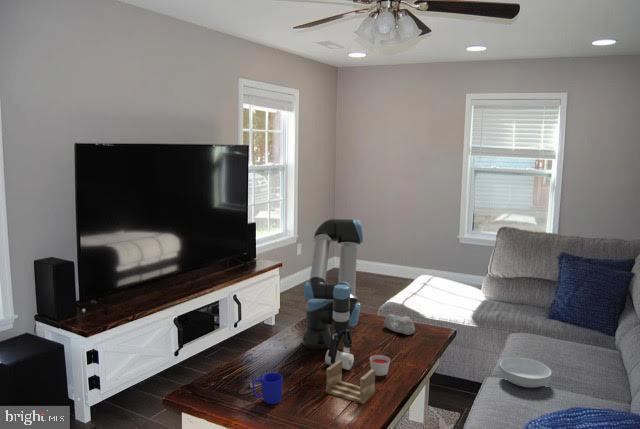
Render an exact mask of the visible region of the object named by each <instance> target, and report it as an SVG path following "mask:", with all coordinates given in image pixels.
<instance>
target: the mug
mask: <svg viewBox="0 0 640 429" xmlns="http://www.w3.org/2000/svg"><path fill="white" fill-rule="evenodd" d="M283 380H284V378H283V375H282V374H281V373H278V372H268V373H265V374H263V375H262V376H261V378H253V379H251V385H252V393H253V395H254V397H255V398H257V399H261V398H263V401H264V403H266V404H268V405H275V404H279V403H280V401H281V400H282V391H283ZM255 382H260V384H261V391H262V392H261V393H262V394H261V395H258V394H257V393H256V390H255Z"/></svg>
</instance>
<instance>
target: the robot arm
mask: <svg viewBox="0 0 640 429" xmlns="http://www.w3.org/2000/svg"><path fill="white" fill-rule="evenodd" d="M333 242H337V246H338V247H339V248H340V250H339V266H338V268H339V269H338V283H332V282H331V283H330V282H329V283H328V282H326V281H327V271H328V264H329V254H330V247H331V245H332V244H333ZM313 243H314V247H313V248H314V249H313V255H312V263H311V268H310V270H311V271H310V276H309V281H306V282H304V285H303V296H304V298H306V299H308V301H307V302H306V309H305V311H306V313H305V314H306V315H305V316H306V317H305V320H306V321H305V323H306V324H305V331H304V334H303V337H302V346H304V347H305V348H307V349H310V350H311V349H312V350H324V349H328V348H329V349H328V350H329V352H328V356H329V357H331V365H333V364H334V363H336V362H337V357H336V354H337V351H339V348H340V344H341V343H343V345H344V346H343V352H345V353H349V354H350V349H351V348H352V347H353V346H352V345H353V339H352V338H353V337H352V333H351V327H355V326H357V324H358V323H359V322H358V321H359V318H360V317H359V316H360V312H361V302H359V301H358V300H359V299H358V297H357V296H356V280H357V276H356V275H357V262H358V261H357V260H358V258H357V255H358V254H357V253H358V248H360V247H361V244H362V243H364V236H363V227H362V221H361V220H359V219H353V218H352V219H351V218H350V219H348V218H347V219H346V218H345V219H344V218H343V219H342V218H340V219H339V218H330V219H327V220H324V221H323V222H322V223H321V224H320V225H319V226H318V227H317V228H316V230H315V233H314V236H313ZM330 326H332V328H333V329H334V330H335V331H334V333H331V331H330ZM331 365H330V366H331Z"/></svg>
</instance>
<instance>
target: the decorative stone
mask: <svg viewBox="0 0 640 429" xmlns="http://www.w3.org/2000/svg"><path fill="white" fill-rule="evenodd" d="M383 324H384V326H385V327H386V328H387V329H389V330H390V331H393V332H395V333H399V334H403V335H406V336H408V335H412V334H413V333H414V332H415V331H416V329H415V324H414V322H413V321H412V319H411V318H410V317H409V316H406V315H405V316H398V315H395V314H388V315H387V316H386V317H385V319H384V322H383Z"/></svg>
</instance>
